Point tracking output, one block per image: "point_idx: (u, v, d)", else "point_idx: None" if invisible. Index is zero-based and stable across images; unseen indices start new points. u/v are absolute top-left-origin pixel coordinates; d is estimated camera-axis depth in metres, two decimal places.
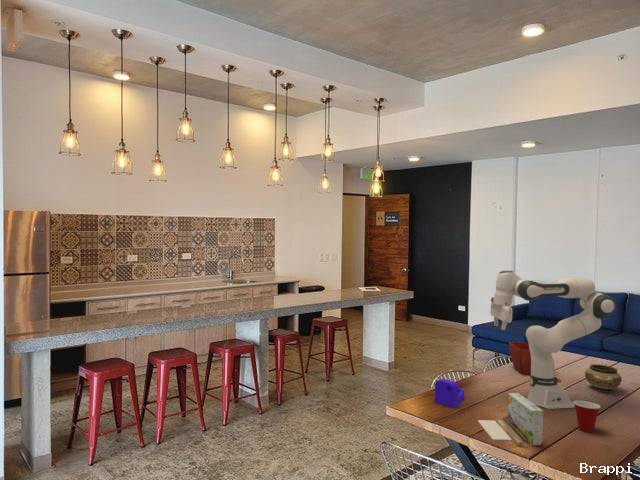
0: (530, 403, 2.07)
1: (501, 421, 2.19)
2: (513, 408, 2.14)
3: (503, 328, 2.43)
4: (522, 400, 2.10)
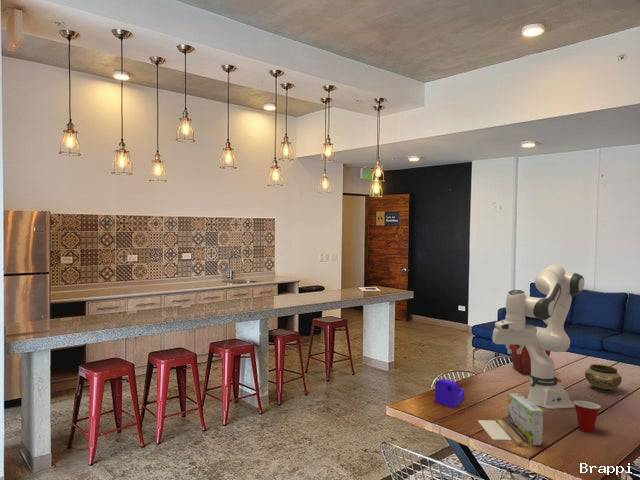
0: (530, 403, 2.07)
1: (501, 421, 2.19)
2: (513, 408, 2.14)
3: None
4: (522, 400, 2.10)
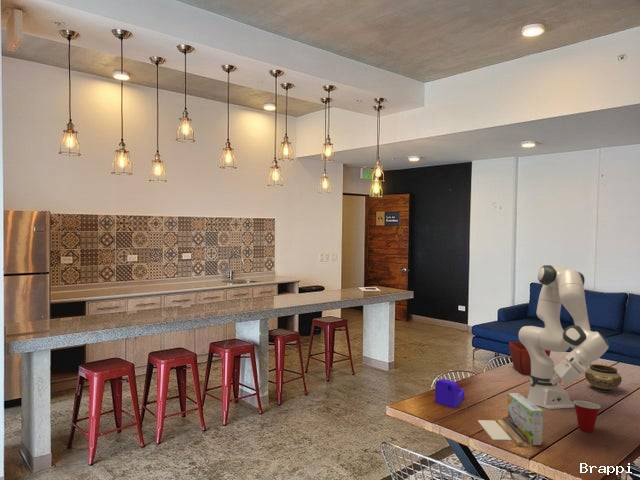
0: (530, 403, 2.07)
1: (501, 421, 2.19)
2: (513, 408, 2.14)
3: None
4: (522, 400, 2.10)
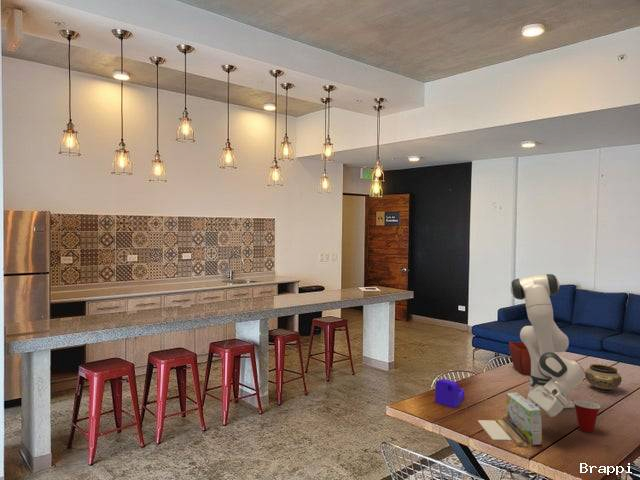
0: (528, 402, 2.07)
1: (501, 421, 2.19)
2: (512, 408, 2.14)
3: None
4: (519, 400, 2.10)
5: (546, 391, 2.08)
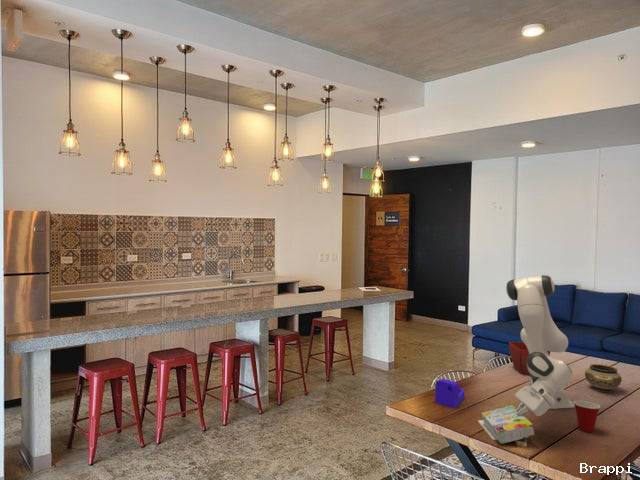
0: (492, 427, 2.07)
1: None
2: None
3: None
4: (490, 429, 2.10)
5: (533, 390, 2.08)
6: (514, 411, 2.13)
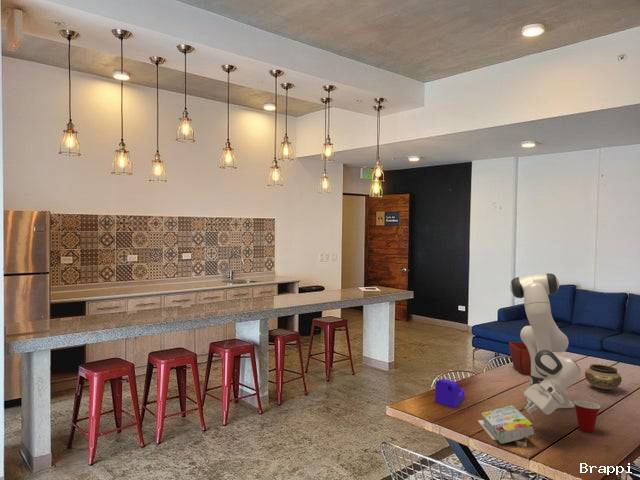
0: (492, 427, 2.07)
1: None
2: None
3: None
4: (490, 430, 2.10)
5: (542, 389, 2.09)
6: (514, 411, 2.13)
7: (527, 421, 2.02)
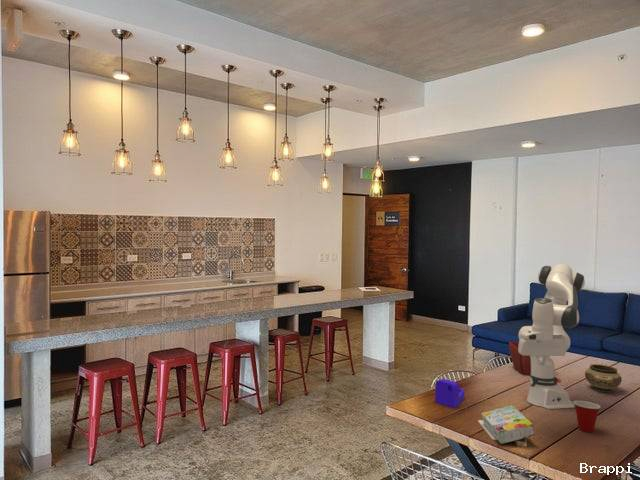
0: (492, 427, 2.07)
1: None
2: None
3: None
4: (490, 430, 2.10)
5: None
6: (514, 411, 2.13)
7: (527, 421, 2.02)
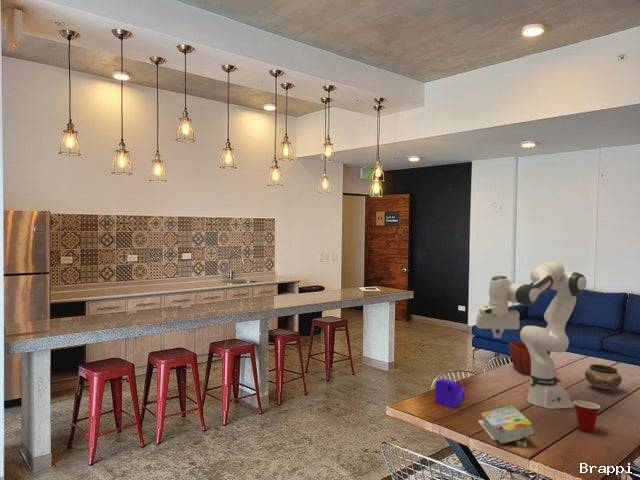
0: (491, 427, 2.07)
1: None
2: None
3: None
4: (490, 430, 2.10)
5: None
6: (514, 411, 2.13)
7: (527, 421, 2.02)
